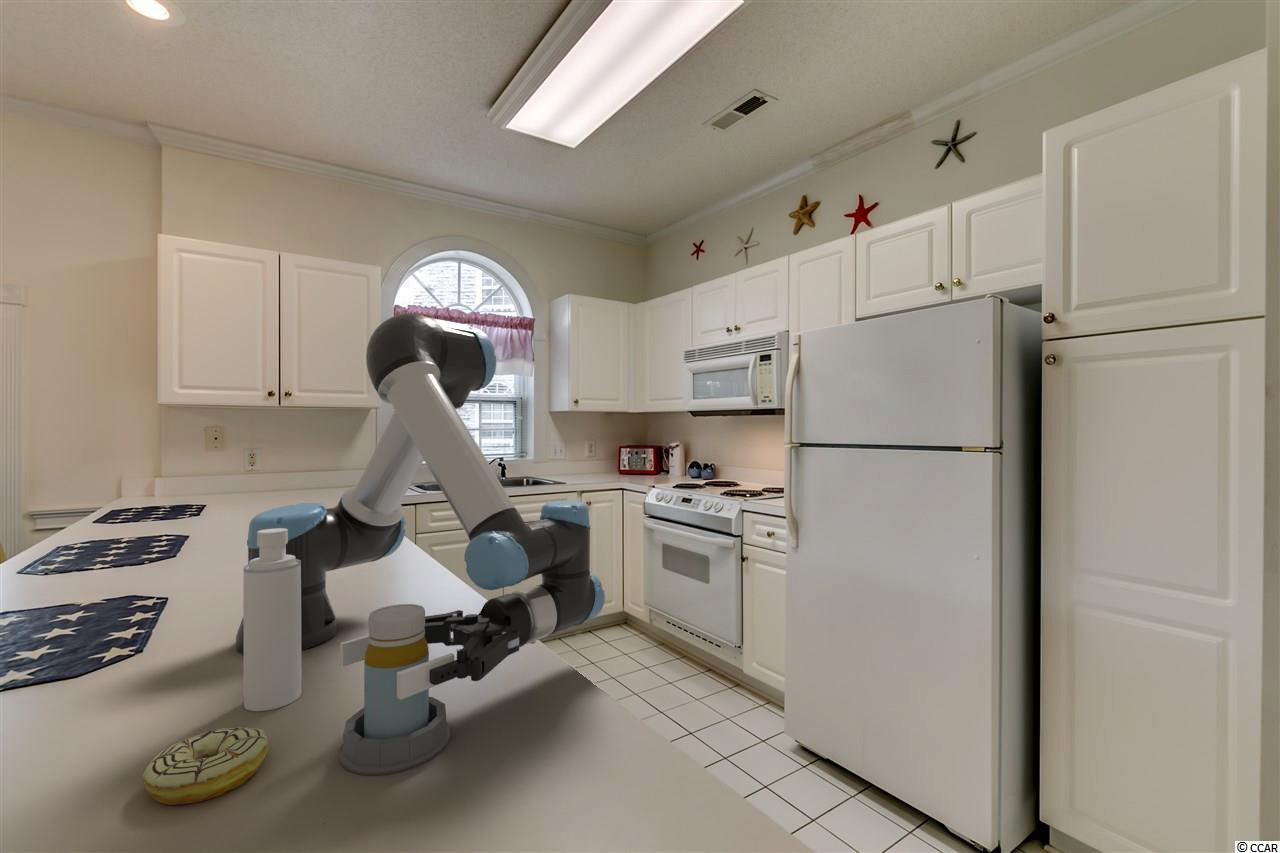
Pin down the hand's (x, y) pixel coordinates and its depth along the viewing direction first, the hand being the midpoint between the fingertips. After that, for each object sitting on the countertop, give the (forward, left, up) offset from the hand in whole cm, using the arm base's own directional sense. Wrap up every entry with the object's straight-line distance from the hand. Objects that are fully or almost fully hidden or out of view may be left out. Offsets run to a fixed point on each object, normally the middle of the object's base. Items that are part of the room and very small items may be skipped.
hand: (368, 669), depth 64 cm
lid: (0, +3, -10) cm, 11 cm away
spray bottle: (-24, -2, -10) cm, 26 cm away
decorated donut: (-10, -12, -10) cm, 19 cm away
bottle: (0, +3, -10) cm, 10 cm away
